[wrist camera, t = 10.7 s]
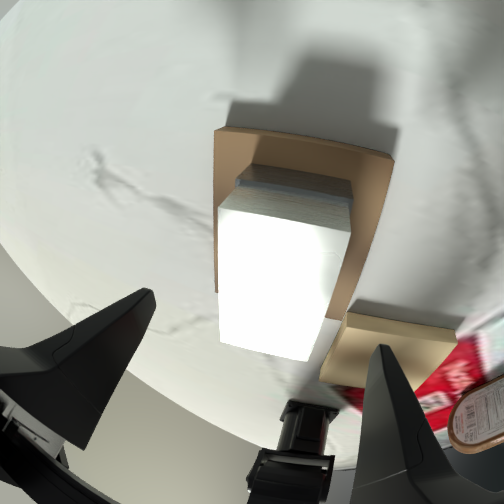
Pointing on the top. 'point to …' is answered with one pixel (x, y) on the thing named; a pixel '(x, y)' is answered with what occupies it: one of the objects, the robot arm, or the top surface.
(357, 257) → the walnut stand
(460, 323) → the top surface
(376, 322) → the oak stand
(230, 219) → the block
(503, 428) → the tin
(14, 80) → the top surface
